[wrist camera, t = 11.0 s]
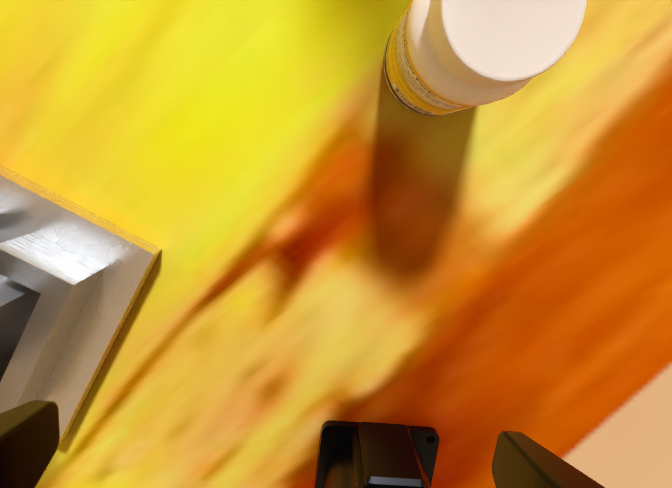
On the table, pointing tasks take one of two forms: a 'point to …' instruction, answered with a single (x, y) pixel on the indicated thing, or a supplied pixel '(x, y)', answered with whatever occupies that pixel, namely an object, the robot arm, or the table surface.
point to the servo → (14, 314)
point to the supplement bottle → (475, 50)
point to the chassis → (64, 293)
